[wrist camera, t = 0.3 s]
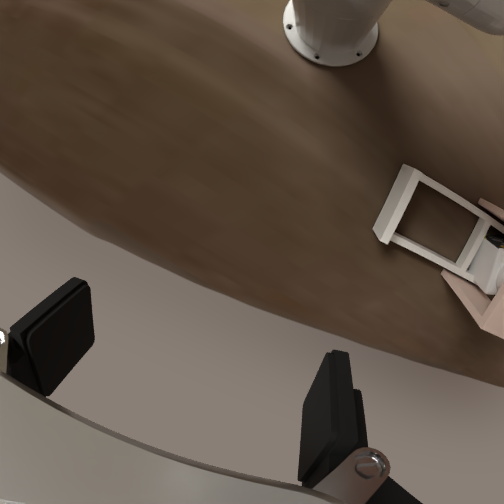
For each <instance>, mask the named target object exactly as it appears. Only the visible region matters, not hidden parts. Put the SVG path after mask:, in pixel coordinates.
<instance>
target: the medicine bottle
mask: <svg viewBox="0 0 504 504" xmlns="http://www.w3.org/2000/svg"><path fill="white" fill-rule="evenodd" d="M469 271H470V272H471V273H472V274H473V276H474V278H473V280H474V281H475V283H476V284H477V285H478V286H479V287H480V288H481V289H482V290H483V292H484V293H485V294H490V295H496V294H497V292H498V290H499V289H500V287H501V285H502V284H503V282H504V237H499V236H494V235H488V234H486V235H485V237H484V239H483V241H482V243H481V245H480V246H479V248H478V250H477V252H476V254H475V256H474V258H473V259H472V261H471V263H470V267H469Z"/></svg>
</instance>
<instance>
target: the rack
mask: <svg viewBox="0 0 504 504" xmlns="http://www.w3.org/2000/svg"><path fill="white" fill-rule="evenodd" d="M419 181H421V182H423V183H425V184H426V185H428V186H430V187H432V188H433V189H435V190H437V191H438V192H440V193H442V194H444V195H445V196H447V197H448V198H450V199H452V200H453V201H455V202H457V203H458V204H460V205H461V206H463V207H465V208H466V209H468V210H469V211H471V212H472V213H474V214H475V215H477V216H478V217H480V218H479V220H478V222H477V224H476V226H475V228H474V230H473V232H472V234H471V236H470V237H469V239H468V241H467V243H466V245H465V247H464V249H463V251H462V252H461V254H460V256H459V258H458V260H457V261H456V263H454V262H452V261H450V260H449V259H447V258H445V257H443V256H441V255H439V254H437V253H435V252H433V251H432V250H430V249H428V248H426V247H424V246H422V245H420V244H418V243H416V242H414V241H412V240H410V239H408V238H406V237H404V236H402V235H400V234H398V233H396V232H394V231H395V229H396V227H397V225H398V223H399V221H400V219H401V217H402V215H403V213H404V211H405V209H406V207H407V205H408V203H409V201H410V199H411V197H412V195H413V193H414V190H415V188H416V186H417V184H418V182H419ZM490 225H492V226H493V227H495V228H496V229H498V230H499V231H500V232H502V233H503V234H504V226H503V225H502V224H500V223H499V222H497V221H496V220H495V219H493V218H492V217H490V216H489V215H487V214H486V213H485V212H483V211H482V210H480V209H479V208H477V207H476V206H474V205H473V204H471V203H470V202H468V201H467V200H465V199H463V198H462V197H460V196H459V195H457V194H456V193H454V192H452V191H451V190H449V189H447V188H446V187H444V186H443V185H441V184H439V183H438V182H436V181H434V180H432V179H431V178H429V177H427V176H426V175H424V174H422V172H420V171H419V170H417V169H415V168H413V167H410V166H408V165H405V164H403V165H402V167H401V169H400V172H399V174H398V176H397V178H396V180H395V183H394V185H393V187H392V189H391V191H390V193H389V196H388V198H387V200H386V202H385V204H384V206H383V208H382V210H381V212H380V214H379V216H378V218H377V220H376V222H375V224H374V226H373V228H372V229H373V231H374V232H375V234H376V236H377V237H378V239H379V240H380V241H381V242H383V243H385V244H387V245H388V243H389V241H392V242H394V243H397V244H399V245H401V246H403V247H405V248H407V249H409V250H411V251H413V252H415V253H417V254H419V255H421V256H423V257H425V258H427V259H429V260H431V261H433V262H435V263H437V264H439V265H441V266H442V267H444V268H446V269H448V270H450V271H452V272H454V273H456V274H458V275H460V276H461V277H463V278H465V279H467V280H469V281H471V282H473V283H474V284H476V283H475V281H474V280H473V278H474V276H473V274H472V273H471V272H470V271H469V270H467V268H468V266H469V265H470V263H471V261H472V259H473V258H474V256H475V254H476V252H477V250H478V248H479V246H480V245H481V243H482V241H483V239H484V237H485V235H486V233H487V231H488V229H489V227H490ZM476 285H477V284H476Z"/></svg>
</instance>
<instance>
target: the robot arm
mask: <svg viewBox="0 0 504 504" xmlns="http://www.w3.org/2000/svg"><path fill="white" fill-rule="evenodd" d="M391 1H392V0H290V1H289V2H288V4H287V6H286V7H285V10H284V14H283V28H284V32H285V35H286V37H287V39H288V41H289V43H290V44H291V45H292V47H293V48H294V49H295V50H296V51H297V52H298V53H299V54H300V55H301V56H303V57H305V58H306V59H308V60H310V61H312V62H314V63H317V64H320V65H324V66H331V67H341V66H347V65H351V64H354V63H356V62H358V61H360V60H362V59H363V58H365V57H366V56H367V55H368V54H369V53H370V52H371V50H372V49H373V47H374V46H375V44H376V41H377V38H378V23H377V21H378V20H379V18H380V17H381V15H382V14H383V13H384V11H385V10H386V8H387V7H388V5H389V4H390V2H391ZM425 1H427V2H429V3H431V4H433V5H435V6H437V7H439V8H441V9H442V10H444V11H446V12H448V13H450V14H451V15H453V16H455V17H457V18H458V19H460V20H462V21H463V22H465V23H467V24H469V25H471V26H472V27H474V28H476V29H478V30H480V31H482V32H485V33H488V34H492V35H500V36H501V35H504V0H425ZM289 27H291V28H292V29H291V30H289V29H288V28H289ZM357 53H358V54H360V56H357V55H356V54H357ZM316 56H318V57H319V59H316V58H315V57H316ZM90 291H91V290H90V287H89V286H88V284H87V282H86V281H84V280H82V279H79V278H76V277H73V278H71V279H70V280H69V281H67V282H66V283H65V284H64V285H62V286H61V287H60V288H58V289H57V290H56V291H54V292H53V293H52V294H51V295H49V296H48V297H47V298H46V299H44V300H43V301H42V302H41V303H39V304H38V305H37V306H36V307H34V308H33V309H32V310H31V311H29V312H28V313H27V314H26V315H24V316H23V317H22V318H21V319H20V320H19V321H17V322H16V323H15V324H14V325H12V326H11V327H10V331H11V332H10V333H9V334H7V332H6V331H5V330H4V329H1V328H0V504H422V503H421V502H420V501H418V500H417V499H416V498H415V497H413V496H412V495H411V494H409V492H407V491H406V490H405V489H403V488H402V487H401V486H400V485H399V484H397V483H396V482H395V481H393V479H391V478H390V477H389V476H388V475H389V473H390V463H389V461H388V459H387V457H386V456H385V455H384V454H383V453H382V452H380V451H379V450H376V449H374V448H370V447H368V441H367V432H366V424H365V415H364V408H363V400H362V394H361V391H360V390H357V389H353V383H352V375H351V367H350V360H349V354H348V352H343V351H338V350H332V352H331V353H328V352H327V353H326V355H325V357H324V359H323V361H322V363H321V366H320V368H319V370H318V372H317V375H316V377H315V379H314V381H313V383H312V386H311V388H310V390H309V392H308V394H307V397H306V398H305V401H304V404H303V411H302V427H301V441H300V455H299V468H298V481H301V482H302V486H298V485H294V484H290V483H285V482H280V481H276V480H271V479H265V478H261V477H256V476H252V475H247V474H243V473H238V472H235V471H231V470H227V469H223V468H219V467H215V466H211V465H208V464H204V463H201V462H197V461H194V460H191V459H187V458H184V457H181V456H178V455H175V454H172V453H169V452H166V451H163V450H160V449H158V448H155V447H152V446H149V445H146V444H144V443H141V442H139V441H136V440H134V439H131V438H128V437H126V436H124V435H121V434H119V433H117V432H114V431H112V430H110V429H108V428H105V427H103V426H101V425H99V424H96V423H94V422H92V421H90V420H88V419H86V418H84V417H82V416H80V415H78V414H76V413H74V412H72V411H70V410H68V409H66V408H64V407H62V406H61V405H58V404H57V403H55V402H53V401H51V400H50V399H47V398H46V396H50V395H51V394H52V393H53V391H54V390H55V389H56V388H57V386H58V385H59V384H60V383H61V382H62V381H63V379H64V378H65V377H66V376H67V374H68V373H69V372H70V371H71V370H72V369H73V367H74V366H75V365H76V364H77V363H78V362H79V360H80V359H81V358H82V357H83V356H84V355H85V353H86V352H87V351H88V350H89V349H90V347H92V345H93V343H94V340H95V336H94V326H93V316H92V304H91V292H90Z"/></svg>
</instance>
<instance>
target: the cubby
mask: <svg viewBox="0 0 504 504" xmlns="http://www.w3.org/2000/svg"><path fill="white" fill-rule="evenodd" d="M478 204H479V205H481V206H482V207H484V208H485V209H486V210H488V211H489V212H491V213H492V214H494V215H495V216H496V217H498V218H499V219H500V220H502V221H503V222H504V210H503V209H501V208H499V207H497V206H495V205H493V204H492V203H490V202H488V201H486V200H484V199H482V198H480V199H479V201H478ZM441 275H442V276H443V278H444V279H445V280H446V281H447V283H448V284H449V285H450V287H451V288H452V289H453V291H454V292H455V293H456V295H457V296H458V297H459V299H460V300H461V301H462V303H463V304H464V305H465V307H466V308H467V310H468V311H469V312H470V314H471V315H472V317H473V318H474V320H475V321H476V322H477V324H478V325H479V327H480V328H481V329H483V330H485V331H487V332H489V333H491V334H494V335H496V336H498V337H500V338H502V339H504V282H503V284H502V285H501V287H500V289H499V290H498V292H497V294H496V295H495V297H494V298H493V300H492V301H491V300H490V299H489V298H488V296H487V295H486V294H485V293H484V292H483V291H482V290H481V288H479V287H478V286H476V285H474V284H472V283H470V282H468V281H467V280H465V279H463V278H461V277H459V276H457V275H455V274H453V273H451V272H450V271H448V270H446V269H443V271H442V272H441Z"/></svg>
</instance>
